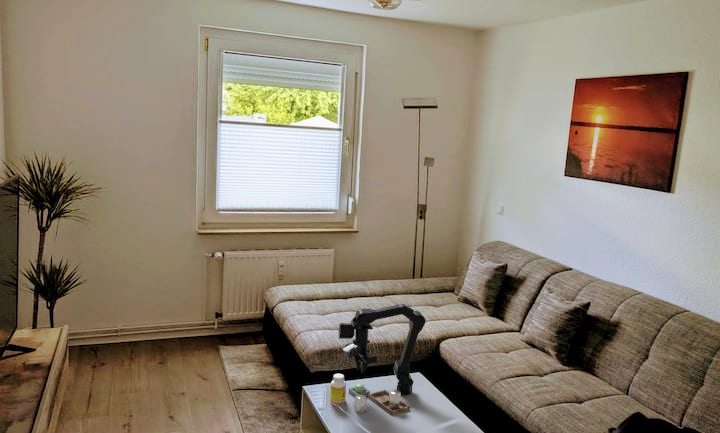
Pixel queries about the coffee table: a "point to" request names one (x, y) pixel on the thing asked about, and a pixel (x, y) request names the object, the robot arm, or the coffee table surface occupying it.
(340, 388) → the supplement bottle
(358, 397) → the cylinder
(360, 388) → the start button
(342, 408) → the coffee table surface
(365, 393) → the grey square tray
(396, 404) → the cylinder
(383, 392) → the wooden tray
